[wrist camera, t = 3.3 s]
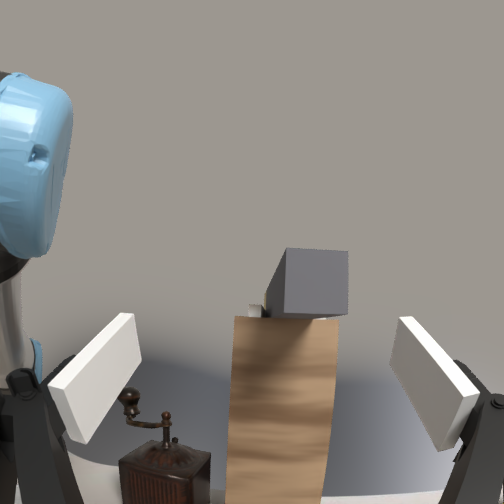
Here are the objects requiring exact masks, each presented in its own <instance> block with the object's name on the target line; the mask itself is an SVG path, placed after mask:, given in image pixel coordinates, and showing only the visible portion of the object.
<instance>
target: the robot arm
mask: <svg viewBox="0 0 504 504" xmlns="http://www.w3.org/2000/svg"><path fill="white" fill-rule="evenodd" d="M72 126H73V108H72V103H71V101H70V99H69V97H68V95H67V94H66V93H65V92H64V91H63V90H62V89H60V88H58V87H56V86H53V85H49V84H46V83H43V82H40V81H37V80H33V79H31V78H30V77H29V76H27V75H26V74H23V73H18V72H14V73H12V74H11V73H5V72H0V504H15V494H16V486H17V478H18V483H19V489H20V495H21V501H22V504H84V502H83V499H82V497H81V494H80V491H79V488H78V485H77V482H76V479H75V476H74V473H73V470H72V466H71V463H70V460H69V456H68V452H67V449H66V445H65V441H64V439H63V437H62V434H63V432H64V431H65V430H67V433H68V435H69V437H70V438H71V440H74V441H77V442H80V443H83V444H87V443H88V441H89V440H90V438H91V437H92V435H93V434H94V432H95V430H96V429H97V427H98V426H99V424H100V423H101V421H102V420H103V418H104V417H105V415H106V413H107V412H108V410H109V409H110V407H111V406H112V404H113V403H114V401H115V400H116V398H117V397H118V395H119V394H120V392H121V391H122V389H123V388H124V386H125V384H126V383H127V382H128V380H129V379H130V377H131V375H132V374H133V373H134V371H135V370H136V368H137V367H138V365H139V364H140V362H141V354H140V349H139V343H138V337H137V331H136V325H135V318H134V314H130V313H120V314H119V315H118V316H117V317H116V318H115V319H114V320H112V321H111V322H110V323H109V324H108V325H107V326H106V327H105V328H104V329H103V330H102V331H101V332H100V333H99V334H98V335H97V336H96V337H95V338H94V339H93V340H92V341H91V342H90V343H89V344H88V345H87V346H86V347H85V348H84V349H83V350H82V351H81V352H80V353H79V354H78V355H72V356H70V357H69V358H67V359H65V360H64V361H63V362H62V363H61V364H59V366H58V367H56V368H55V369H54V370H53V372H51V373H50V374H49V375H48V376H47V377H46V378H45V379H44V380H43V381H42V349H41V344H40V343H39V342H38V341H36V340H33V339H31V338H29V337H28V335H27V334H26V332H25V331H24V330H23V326H22V307H21V271H22V270H23V269H24V268H25V267H26V266H27V264H28V263H29V261H30V260H31V258H32V257H41V256H42V255H44V254H46V253H47V251H48V250H49V248H50V246H51V243H52V240H53V236H54V232H55V228H56V222H57V217H58V213H59V207H60V201H61V195H62V187H63V180H64V177H65V172H66V167H67V160H68V155H69V149H70V141H71V135H72ZM390 366H391V368H392V370H393V371H394V373H395V375H396V376H397V378H398V380H399V382H400V383H401V385H402V387H403V389H404V390H405V392H406V394H407V395H408V397H409V399H410V401H411V403H412V405H413V406H414V408H415V410H416V412H417V414H418V416H419V417H420V419H421V421H422V423H423V425H424V427H425V429H426V431H427V432H428V434H429V436H430V438H431V440H432V442H433V444H434V446H435V448H436V450H437V452H439V451H444V450H447V449H450V448H454V446H455V444H456V442H457V441H458V439H459V437H460V438H461V439H462V441H463V445H462V446H461V448H460V450H459V452H458V453H457V455H456V457H455V459H454V460H453V462H455V465H454V468H453V470H452V473H451V475H450V478H449V480H448V483H447V485H446V488H445V490H444V492H443V495H442V497H441V499H440V501H439V503H438V504H498V501H499V497H500V493H501V489H502V484H503V504H504V395H502V394H491V393H490V392H489V391H488V390H487V389H486V387H485V386H484V385H483V384H482V383H481V382H480V381H479V380H478V378H476V376H475V375H474V374H473V373H471V370H470V369H469V368H468V367H467V366H466V365H465V364H463V363H461V362H460V361H458V360H452V359H451V358H450V357H449V356H448V355H447V354H446V353H445V352H444V350H443V349H442V348H441V347H440V346H439V345H438V344H437V343H436V342H435V340H434V339H433V338H432V337H431V336H430V335H429V334H428V333H427V332H426V331H425V330H424V328H423V327H422V326H421V325H420V324H419V323H418V322H417V321H416V320H415V319H414V318H413V317H412V316H411V317H399V319H398V325H397V330H396V335H395V341H394V346H393V350H392V355H391V359H390Z"/></svg>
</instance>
